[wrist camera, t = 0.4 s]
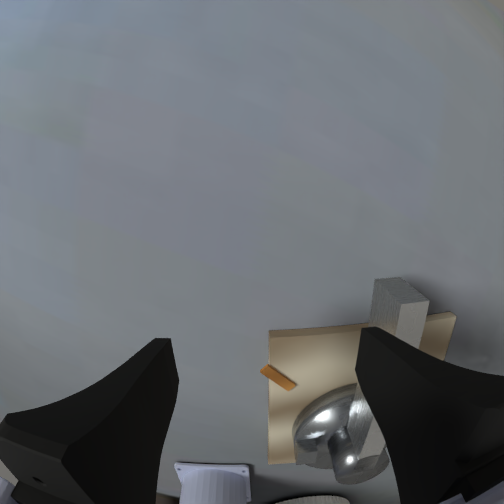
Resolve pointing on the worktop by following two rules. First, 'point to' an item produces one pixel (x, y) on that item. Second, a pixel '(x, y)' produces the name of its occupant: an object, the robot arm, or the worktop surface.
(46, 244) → the worktop surface
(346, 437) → the metal lever mechanism
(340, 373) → the square wooden board
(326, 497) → the plastic lid
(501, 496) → the robot arm
